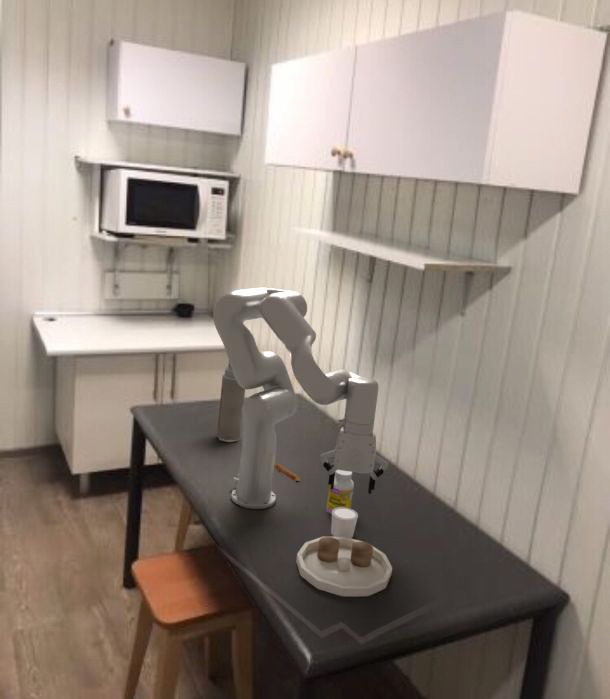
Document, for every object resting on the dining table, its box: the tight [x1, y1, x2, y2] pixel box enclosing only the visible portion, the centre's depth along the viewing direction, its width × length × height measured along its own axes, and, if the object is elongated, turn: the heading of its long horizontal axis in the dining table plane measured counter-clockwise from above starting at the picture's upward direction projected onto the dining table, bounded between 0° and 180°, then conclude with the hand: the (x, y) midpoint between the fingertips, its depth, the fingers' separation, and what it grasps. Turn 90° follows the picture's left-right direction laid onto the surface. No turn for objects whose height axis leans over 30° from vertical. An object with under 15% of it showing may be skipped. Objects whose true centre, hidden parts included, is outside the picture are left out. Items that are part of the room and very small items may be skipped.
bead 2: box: [350, 541, 374, 567], centre depth 167 cm, size 5×5×4 cm
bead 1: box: [317, 536, 340, 562], centre depth 167 cm, size 5×5×4 cm
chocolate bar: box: [274, 461, 301, 483], centre depth 213 cm, size 3×12×2 cm, turn 41°
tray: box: [295, 536, 393, 598], centre depth 163 cm, size 22×22×3 cm
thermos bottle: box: [216, 361, 246, 440], centre depth 232 cm, size 8×8×28 cm
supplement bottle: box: [325, 470, 355, 515], centre depth 190 cm, size 7×7×13 cm
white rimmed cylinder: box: [330, 507, 359, 539], centre depth 179 cm, size 7×7×7 cm
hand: (350, 489), depth 176 cm, fingers open, 9 cm apart
